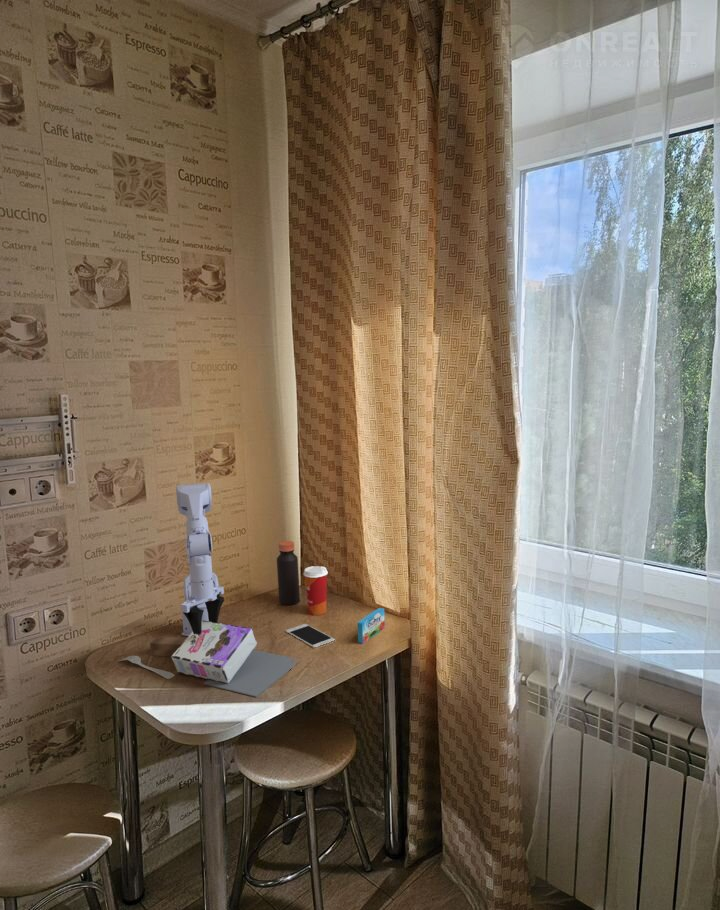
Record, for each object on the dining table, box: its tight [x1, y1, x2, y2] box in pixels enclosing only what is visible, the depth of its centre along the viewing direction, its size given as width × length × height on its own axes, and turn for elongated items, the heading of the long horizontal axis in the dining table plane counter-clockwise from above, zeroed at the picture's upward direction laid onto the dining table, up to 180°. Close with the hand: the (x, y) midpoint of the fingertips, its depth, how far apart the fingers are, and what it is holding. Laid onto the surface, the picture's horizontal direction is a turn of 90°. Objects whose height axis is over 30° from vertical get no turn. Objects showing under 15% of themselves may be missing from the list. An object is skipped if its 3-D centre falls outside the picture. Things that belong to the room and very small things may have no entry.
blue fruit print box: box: [357, 607, 386, 645], centre depth 181 cm, size 12×2×6 cm, turn 147°
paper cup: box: [302, 565, 329, 616], centre depth 199 cm, size 8×8×14 cm
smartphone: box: [285, 623, 336, 648], centre depth 183 cm, size 7×15×1 cm, turn 38°
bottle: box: [276, 540, 301, 606], centre depth 208 cm, size 7×7×20 cm
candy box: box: [170, 620, 258, 684], centre depth 164 cm, size 14×6×16 cm
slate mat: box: [202, 649, 301, 698], centre depth 163 cm, size 16×20×1 cm
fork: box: [119, 655, 176, 680], centre depth 167 cm, size 3×21×3 cm, turn 57°
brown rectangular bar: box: [149, 636, 188, 657], centre depth 175 cm, size 16×4×4 cm, turn 79°
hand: (205, 628), depth 168 cm, fingers open, 6 cm apart
